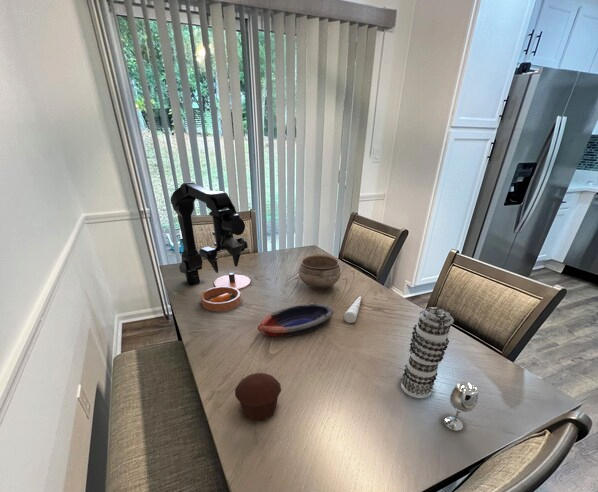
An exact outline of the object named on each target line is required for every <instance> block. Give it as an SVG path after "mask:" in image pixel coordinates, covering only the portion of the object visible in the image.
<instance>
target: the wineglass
mask: <svg viewBox="0 0 598 492" xmlns="http://www.w3.org/2000/svg"><path fill="white" fill-rule="evenodd" d="M478 400H479V389H478V387H477V386H476V385H474V384H473V383H470V382H467V381H459V382H458V383H457V384H456V385H455V386H454V388H453V389H452V391H451V393H450V395H449V402H450V405H451V407H453V408H454V409H455V416H446V417H445V418H444V420H443V423H444V425H445V426H446V427H447V428H449V429H450V430H452V431H461V430H462V429H463V428H464V424H463V422H462V421H461V420H460V419H459V418H458V417H459V415H460V414H461V412H462V413H469V412H471V411H473V410H474V409H475V407H476V406H477V404H478Z"/></svg>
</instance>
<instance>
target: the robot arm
mask: <svg viewBox="0 0 598 492" xmlns="http://www.w3.org/2000/svg"><path fill="white" fill-rule="evenodd" d="M196 200H198V201H200V202H202V203H204V204H205V207H206V208H207V209H208V210H210V212H209V213H208V215H209V216H211V217H212V225H213V231H212V236H214V241H215V242H214V243H213V246H214V247H211V246H204V247H201V248H199V251H198V250H197V247H196V241H195V232H194V226H193V220H192V214H193V212H194V210H195V202H196ZM170 204H171V205H172V210H173V211H174V212H175V213H176V214H177V216H178V220H179V227H180V233H181V238H182V239H181V240H182V246H183V251H182V253H181V262H180V264H179V266H178V268H179V271H180V272H181V273H182V274H185V279H186V280H185V281H183V283H185V284H186V285H188V286H196V285H198V284H200V283H203V282H204V281H203V280H201V278H200V274H199V271H200V270H202V269H203V259H202V258H204V259H206V260H207V262H208V263H209V264H210V266H211V267H212V269H213V271H214V272H215V273H216V274H219V266H218V260H219V257H218V253H222V252H225V251H227V252H228V254H230V255H231V257H232V261H233V265H234V267H236V268H237V267H238V265H239V262H240V257H241V255H242V254H243V252H244V251H246V249H248V247H249V246H248V242H247V240H245V238H243V237H242V236H241V235H242V234H244V232H245V229H246V223H245V221H244V220H243V218H241V217H240V214H239V213H237V210H236V207H235V205H234V203H233V202H232V199H231V198H230V196H229V194H228V193H227V192H226V191H220V190H219V191H217V190H215V191H214V190H210V189H209V188H206V187H204V186H201V185H200V184H197V183H196V182H194V181H189V182H183V183H181V184H180V186H179V187H178V188H177V189H175V190H174V191H173V192H172V194H171V196H170ZM234 235H235V236H241V237H238V238H235V237H234Z"/></svg>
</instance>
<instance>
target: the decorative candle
mask: <svg viewBox="0 0 598 492" xmlns="http://www.w3.org/2000/svg"><path fill="white" fill-rule="evenodd" d="M418 316H419V317H418V322H417V324H415V325H414V326H413V328H412V330H413V331H412V332H411V334H412V336H411V339H410V341H411V342H410V343H409V349H408V354H409V355H408V357H409V358H408V359H407V362H406V364H404V365H405V366H404V367H405V368H404V369H403V371H404V373H402V378H401V383H400V384H401V385H400V388H401V390H402V391H403V392H404V393H405V394H407V396H410V397H412V398H416V399H425V398H428V397H429V396H431V393H432V390H433V389H434V386H435V381H436V380H437V376H438V369H439V364H441V363H442V361H443V359H444V356H445V354H446V350H447V349H448V348H449V347H448V345H449V343H450V340H449V335H450V332H451V327H452V325H453V324H454V323H455V320H454V318H453V316H452V315H451V314H450V312H449V311H447V310H446V309H444V308H442V307H436V306H433V307H432V306H431V307H428V308H426V309H425V310H422V311H420V312H419V313H418Z"/></svg>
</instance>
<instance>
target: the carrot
mask: <svg viewBox="0 0 598 492" xmlns="http://www.w3.org/2000/svg"><path fill="white" fill-rule="evenodd" d="M231 297H233V294H232V293H231V294H229V293H225V294H220V295H216V296H214V297H212V298H210V299H209V300H208V301H209V302H214V303H221V302H227V301H230V299H231Z"/></svg>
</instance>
